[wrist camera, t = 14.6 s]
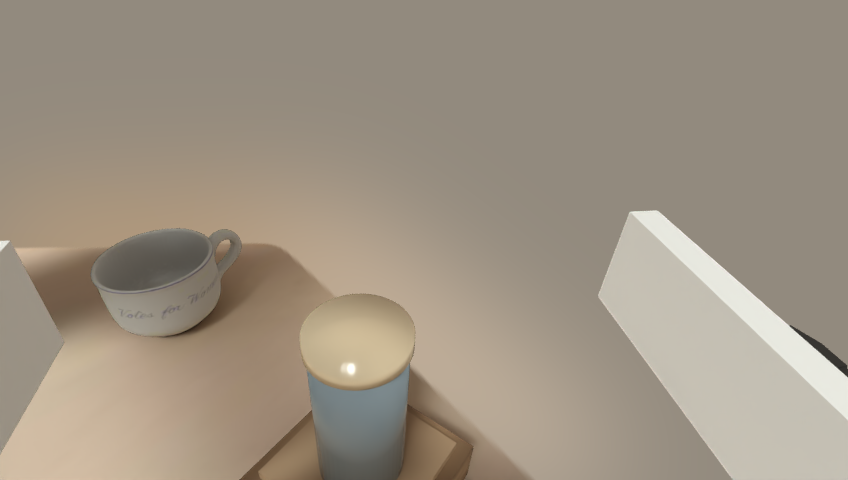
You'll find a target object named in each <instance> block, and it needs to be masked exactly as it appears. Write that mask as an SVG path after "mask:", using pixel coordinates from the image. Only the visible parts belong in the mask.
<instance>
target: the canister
mask: <svg viewBox="0 0 848 480" xmlns="http://www.w3.org/2000/svg"><path fill="white" fill-rule="evenodd" d="M299 338H300V349H301V356H302V360H303V363H304V365H305V367H306V368H307V374H308V382H309V390H310V398H311V406H312V415H313V423H314V431H315V439H316V447H317V455H318V463H319V470H320V474H321V477H322V480H397V479H398V477H399V475H400V473H401V470H402V467H403V460H404V445H405V430H406V414H407V399H408V384H409V368H410V361H411V359H412V357H413V353H414V346H415V326H414V323H413V321H412V319H411V317H410V316H409V314H408V313H407V312H406V311H405V310H404V309H403V308H402V307H401V306H400V305H398V304H397V303H395V302H393V301H391V300H389V299H387V298H384V297H381V296H377V295H371V294H350V295H345V296H340V297H337V298H334V299H331V300H329V301H327V302H325V303H323V304H321V305H320V306H318V307H317V308H316V309H315V310H313V311H312V312H311V313H310V314H309V315H308V317H307V318H306V319H305V321H304V323H303V325H302V327H301V330H300V337H299Z"/></svg>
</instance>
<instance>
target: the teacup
mask: <svg viewBox="0 0 848 480" xmlns="http://www.w3.org/2000/svg"><path fill="white" fill-rule="evenodd" d="M226 239H229V240H230V243H231V245H230V248H229V250H228V252H227V254H226V255H225V256H224V258H223V259H222V260H221V261H220V262H219V263H218V264H216V261H215V258H214V257H215V253H216V248H217V246H218V244H219V243H220V242H221V241H223V240H226ZM241 247H242V244H241V240H240V238H239V237H238V235H237V234H236V233H234V232H233V231H231V230H227V229H222V230H218V231H216V232H214V233H213V234H212V235H211V236H210V237H209V238H208V237H206V236H205V235H203V234H202V233H199V232H197V231H193V230H189V229H180V228H176V229H162V230H155V231H150V232H146V233H142V234H138V235H136V236H133V237H130V238H128V239H125V240H123V241H121V242H119V243H117V244H116V245H114V246H112V247H111V248H109V249H107V250H106V251H105V252H104V253H102V254H101V255H100V256H99V257H98V258H97V260H96V261H95V262H94V264H93V266H92V269H91V279H92V281H93V283H94V285H95V286H96V287H97V288H98V290H99V293H100V295H101V297H102V299H103V301H104V303H105V305H106V307H107V309H108V310H109V312H110V314H111V316H112V317H113V319H114V320H115V321H116V322H117V324H118V325H119V326H120V327H122V328H123V329H125V330H126V331H128V332H130V333H133V334H136V335H140V336H150V337H154V336H170V335H174V334H178V333H181V332H184V331H186V330H188V329H190V328H192V327H194V326H195V325H197V324H198V323H199V322H200V321H202V320H203V319H204V318H205V317H206V316H207V315H208V314H209V313H210V312H211V311H212V310H213V309H214V307H215V306H216V304H217V302H218V300H219V297H220V293H221V282H220V280H221V279H222V276H223V274H224V273H225V271H226V270H227V269H228V268H229V267H230V266H231V265H232V264H233V263H234V262H235V260H236V259H237V257H238V256H239V254H240V252H241Z"/></svg>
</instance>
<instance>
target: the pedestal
mask: <svg viewBox="0 0 848 480" xmlns="http://www.w3.org/2000/svg"><path fill="white" fill-rule="evenodd" d="M472 450H473V446H472V445H471V444H469V443H468V442H466V441H464V440H463V439H461V438H460V437H458V436H457V435H455V434H453V433H452V432H450V431H449V430H447V429H446V428H444V427H442V426H441V425H439V424H438V423H436V422H435V421H433V420H431V419H430V418H428V417H427V416H425V415H424V414H422V413H420V412H419V411H417V410H416V409H414V408H413V407H411V406H409V405H408V404H407V414H406V430H405V445H404V460H403V467H402V470H401V473H400V475H399V477H398V479H397V480H464V478H465V476H466V475H467V472H468V468H469V463H470V459H471V455H472ZM240 480H322V477H321V474H320V470H319V463H318V455H317V447H316V439H315V431H314V423H313V415H312V410H311V411H310V412H309V413H308V414H307V415H306V416H305V417H304V418H303V419H302V420H301V421H300V422H299V423H298V424H297V425H296V426H295V427H294V428H293V429H292V430H291V431H290V432H289V433H288V434H287V435H285V436H284V437H283V438H282V439H281V440H280V441H279V442H278V443H277V444H276V445H275V446H274V447H273V448H272V449H271V450H270V451H269V452H268V453H267V454H266V455H265V456H264V457H263V458H262V459H261V460H260V461H259V462H257V463H256V464H255V465H254V466H253V467H252V468H251V469H250V470H249V471H248V472H247V473H246V474H245V475H244V476H243V477H242V478H241V479H240Z"/></svg>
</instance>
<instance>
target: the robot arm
mask: <svg viewBox="0 0 848 480" xmlns="http://www.w3.org/2000/svg"><path fill="white" fill-rule="evenodd" d="M598 297H599V299H600V300H601V301H602V303H603V304H604V305H605V307H606V308H607V309H608V311H609V312H610V314H611V315H612V316H613V318H614V319H615V320H616V322H617V323H618V324H619V326H620V327H621V328H622V330H623V331H624V333H625V334H626V335H627V336H628V338H629V339H630V341H631V342H632V343H633V345H634V346H635V348H636V349H637V350H638V352H639V353H640V354H641V356H642V357H643V358H644V360H645V361H646V362H647V364H648V365H649V367H650V368H651V369H652V370H653V372H654V373H655V375H656V376H657V377H658V379H659V380H660V382H662V384H663V385H664V387H665V388H666V390H667V391H668V392H669V394H670V395H671V396H672V398H673V399H674V400H675V402H676V403H677V405H678V406H679V407H680V409H681V410H682V411H683V413H684V414H685V415H686V417H687V418H688V420H689V421H690V422H691V423H692V425H693V426H694V428H695V429H696V430H697V432H698V433H699V435H700V436H701V437H702V439H703V440H704V441H705V443H706V444H707V445H708V447H709V448H710V450H711V451H712V452H713V454H714V455H715V456H716V458H717V459H718V460H719V462H720V463H721V464H722V466H723V467H724V469H725V470H726V471H727V473H728V474H729V475H730V477H731V478H732V479H733V480H848V369H847V365H846V364H845V363H843V362H842V361H841V360H840V359H839V358H838V357H837V356H835V355H834V354H833V353H832V352H831V351H830V350H828V349H827V348H826V347H825V346H824V345H822V344H821V343H820V342H818V341H816V340H815V339H813V338H811V337H809V336H808V335H806V334H804V333H803V332H801V331H799V330H798V329H796V328H794V327H793V326H791V325H790V326H789V325H787V324H786V323H785V322H784V321H783V320H782V319H781V318H779V317H778V316H777V315H776V314H775V313H774V312H773V311H771V310H770V309H769V308H768V307H767V306H766V305H765V304H763V303H762V302H761V301H760V300H759V299H758V298H757V297H755V296H754V295H753V294H752V293H751V292H749V290H747V289H746V288H745V287H744V286H743V285H742V284H741V283H739V282H738V281H737V280H736V279H735V278H734V277H733V276H732V275H730V274H729V273H728V272H727V271H726V270H725V269H724V268H722V267H721V266H720V265H719V264H718V263H717V262H716V261H714V260H713V259H712V258H711V257H710V256H709V255H708V254H706V253H705V252H704V251H703V250H702V249H701V248H700V247H698V246H697V245H696V244H695V243H694V242H693V241H692V240H690V239H689V238H688V237H687V236H686V235H685V234H684V233H682V232H681V231H680V230H679V229H678V228H677V227H676V226H674V225H673V224H672V223H671V222H670V221H669V220H668V219H666V218H665V217H664V216H663V215H662V214H661V213H660V212H658V211H636V212H630V213H629V215H628V218H627V221H626V223H625V226H624V228H623V231H622V234H621V236H620V239H619V242H618V244H617V247H616V250H615V252H614V255H613V258H612V260H611V263H610V266H609V268H608V271H607V274H606V276H605V279H604V281H603V284H602V287H601V290H600V292H599V295H598ZM63 344H64V340H63V338H62V336H61V334H60V333H59V331H58V329H57V327H56V325H55V323H54V321H53V320H52V318H51V316H50V314H49V312H48V310H47V308H46V307H45V305H44V303H43V301H42V299H41V297H40V295H39V294H38V292H37V290H36V288H35V286H34V284H33V282H32V281H31V279H30V277H29V275H28V273H27V271H26V269H25V268H24V266H23V264H22V262H21V260H20V258H19V256H18V255H17V253H16V251H15V249H14V247H13V245H12V244H11V242H10V241H0V454H1V452H2V450H3V449H4V447H5V445H6V443H7V442H8V440H9V438H10V436H11V435H12V433H13V431H14V429H15V428H16V426H17V424H18V422H19V421H20V419H21V417H22V415H23V414H24V412H25V410H26V408H27V407H28V405H29V403H30V401H31V400H32V398H33V396H34V394H35V393H36V391H37V389H38V387H39V386H40V384H41V382H42V380H43V379H44V377H45V375H46V373H47V372H48V370H49V368H50V367H51V365H52V363H53V361H54V360H55V358H56V356H57V354H58V353H59V351H60V349H61V347H62V346H63Z"/></svg>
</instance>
